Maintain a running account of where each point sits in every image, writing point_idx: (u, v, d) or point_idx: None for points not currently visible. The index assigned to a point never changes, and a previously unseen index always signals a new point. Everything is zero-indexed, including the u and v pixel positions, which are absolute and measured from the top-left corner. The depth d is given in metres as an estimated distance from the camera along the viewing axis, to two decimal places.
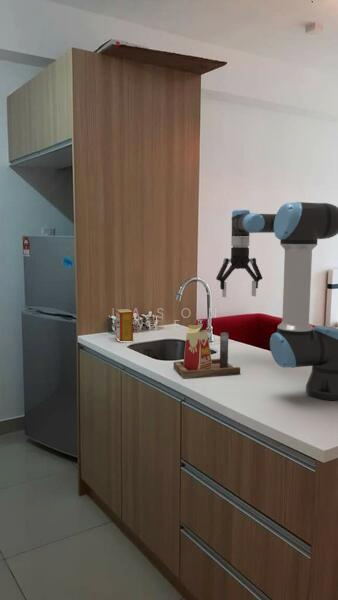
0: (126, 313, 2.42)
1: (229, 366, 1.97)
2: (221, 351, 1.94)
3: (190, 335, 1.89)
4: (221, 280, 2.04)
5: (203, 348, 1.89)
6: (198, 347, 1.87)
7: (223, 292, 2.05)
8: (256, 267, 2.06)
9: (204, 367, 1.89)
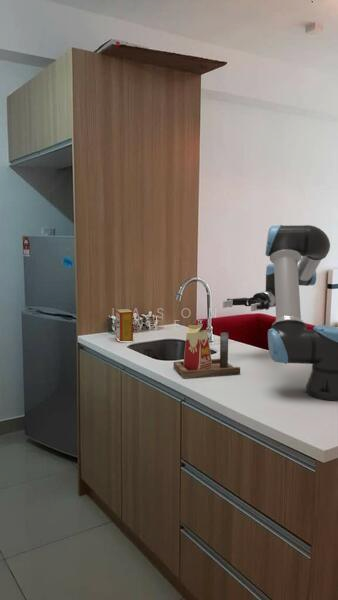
0: (126, 313, 2.42)
1: (229, 366, 1.97)
2: (221, 351, 1.94)
3: (190, 335, 1.89)
4: None
5: (203, 348, 1.89)
6: (198, 347, 1.87)
7: None
8: (267, 301, 2.04)
9: (204, 367, 1.89)
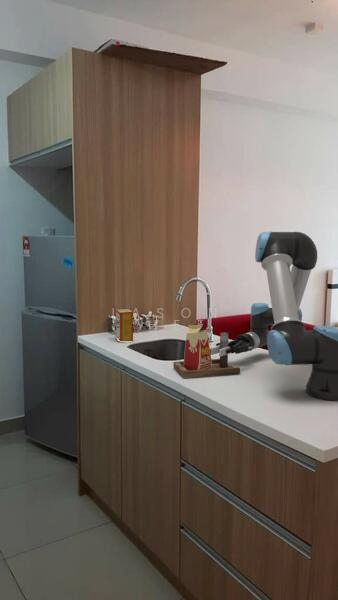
0: (126, 313, 2.42)
1: (229, 366, 1.97)
2: None
3: (190, 335, 1.89)
4: (218, 346, 1.98)
5: (203, 348, 1.89)
6: (198, 347, 1.87)
7: None
8: (244, 345, 1.97)
9: (204, 367, 1.89)
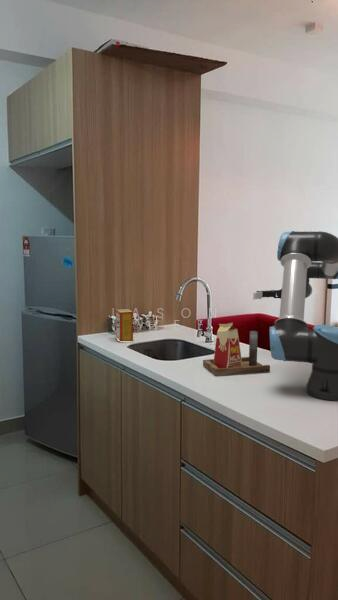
0: (126, 313, 2.42)
1: (258, 364, 2.00)
2: (250, 349, 1.97)
3: (220, 333, 1.93)
4: None
5: (233, 347, 1.91)
6: (228, 345, 1.90)
7: None
8: None
9: (233, 366, 1.91)
